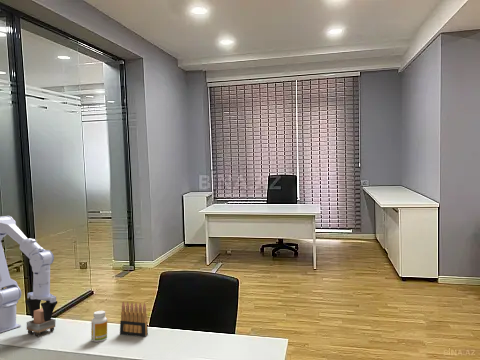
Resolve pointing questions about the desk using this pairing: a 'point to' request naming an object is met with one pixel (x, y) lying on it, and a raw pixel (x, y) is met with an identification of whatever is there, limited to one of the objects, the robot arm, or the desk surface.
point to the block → (39, 316)
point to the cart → (40, 326)
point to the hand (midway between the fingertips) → (41, 319)
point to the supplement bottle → (99, 327)
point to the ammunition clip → (133, 321)
